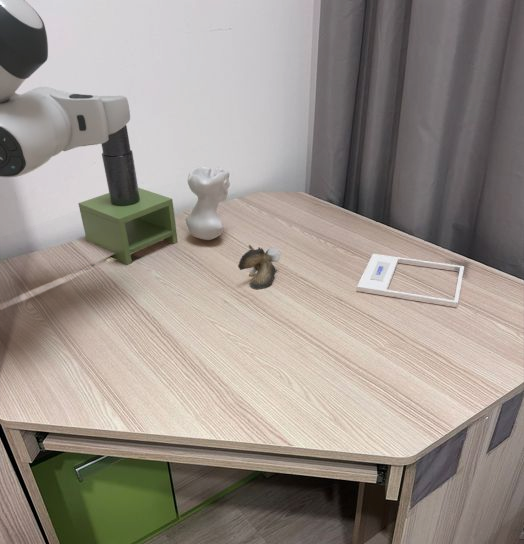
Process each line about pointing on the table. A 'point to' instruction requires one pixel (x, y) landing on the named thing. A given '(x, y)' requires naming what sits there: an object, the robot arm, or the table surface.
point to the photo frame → (382, 273)
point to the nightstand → (129, 223)
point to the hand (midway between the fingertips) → (81, 101)
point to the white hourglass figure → (207, 201)
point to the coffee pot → (120, 169)
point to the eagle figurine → (260, 265)
